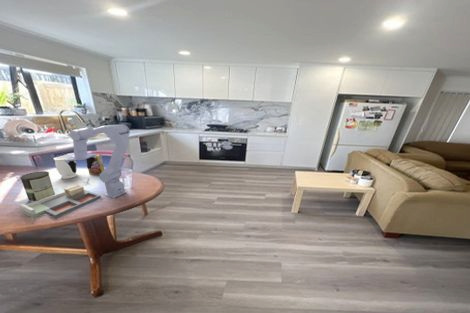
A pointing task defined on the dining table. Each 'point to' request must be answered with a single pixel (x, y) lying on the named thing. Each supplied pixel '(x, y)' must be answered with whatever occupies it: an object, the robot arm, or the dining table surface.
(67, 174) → the jar
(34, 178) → the coffee can
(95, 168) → the candy box
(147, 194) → the dining table surface
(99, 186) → the dining table surface
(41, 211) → the board
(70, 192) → the maple block
